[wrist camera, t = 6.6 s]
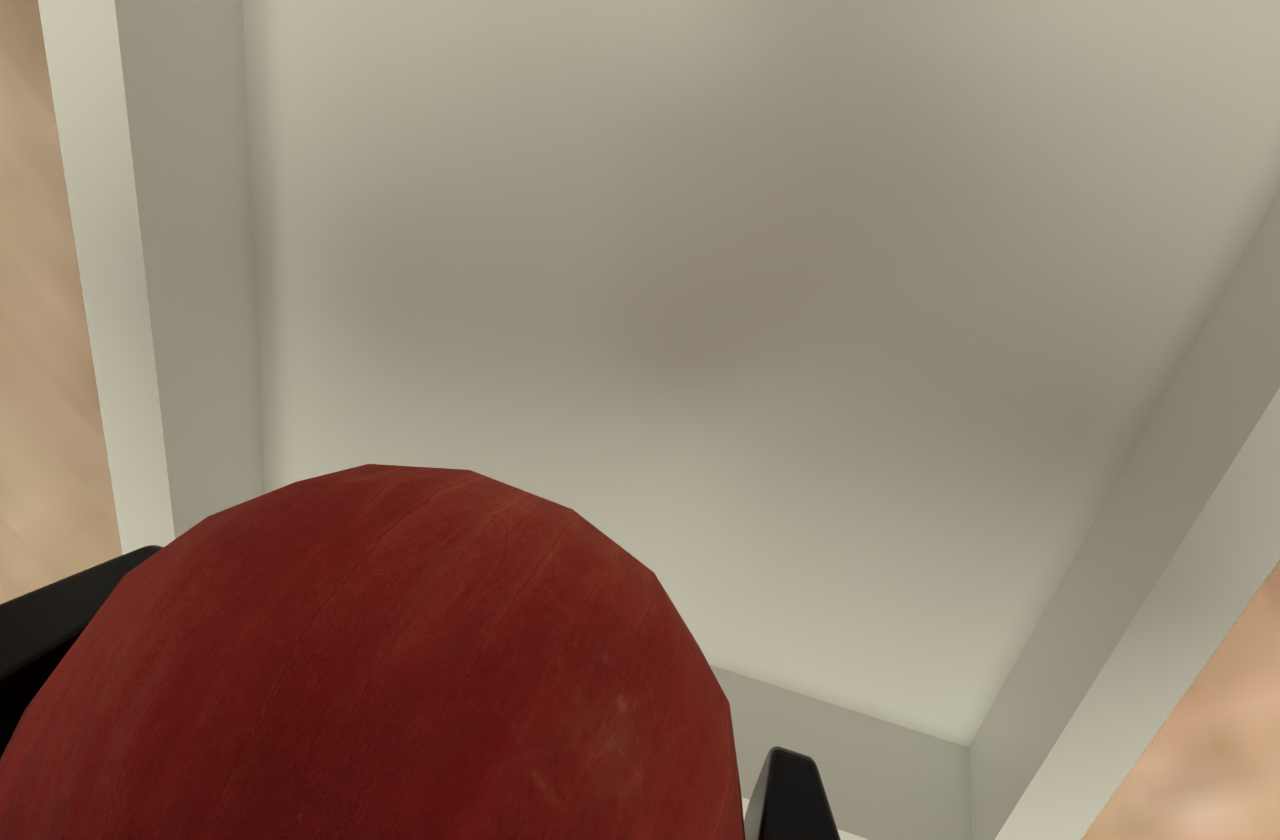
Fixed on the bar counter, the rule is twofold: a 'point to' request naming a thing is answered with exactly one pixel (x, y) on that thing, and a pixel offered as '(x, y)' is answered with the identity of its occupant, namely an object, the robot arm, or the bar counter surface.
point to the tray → (737, 331)
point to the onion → (380, 681)
